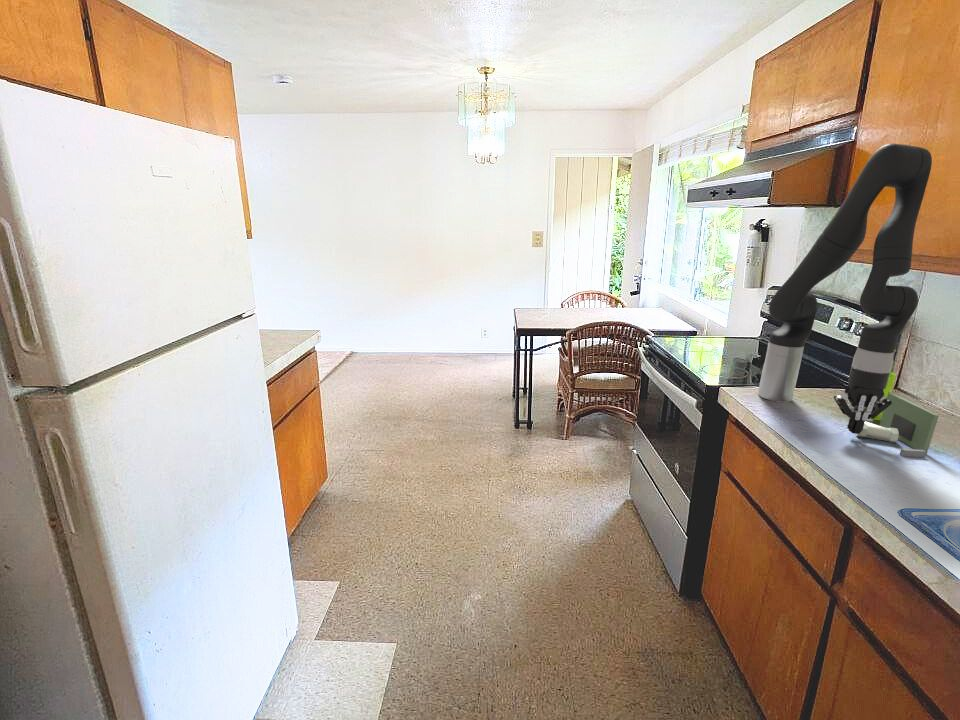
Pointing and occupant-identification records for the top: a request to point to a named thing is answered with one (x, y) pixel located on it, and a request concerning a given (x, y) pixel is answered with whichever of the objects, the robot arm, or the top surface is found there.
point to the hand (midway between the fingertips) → (853, 432)
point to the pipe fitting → (879, 432)
